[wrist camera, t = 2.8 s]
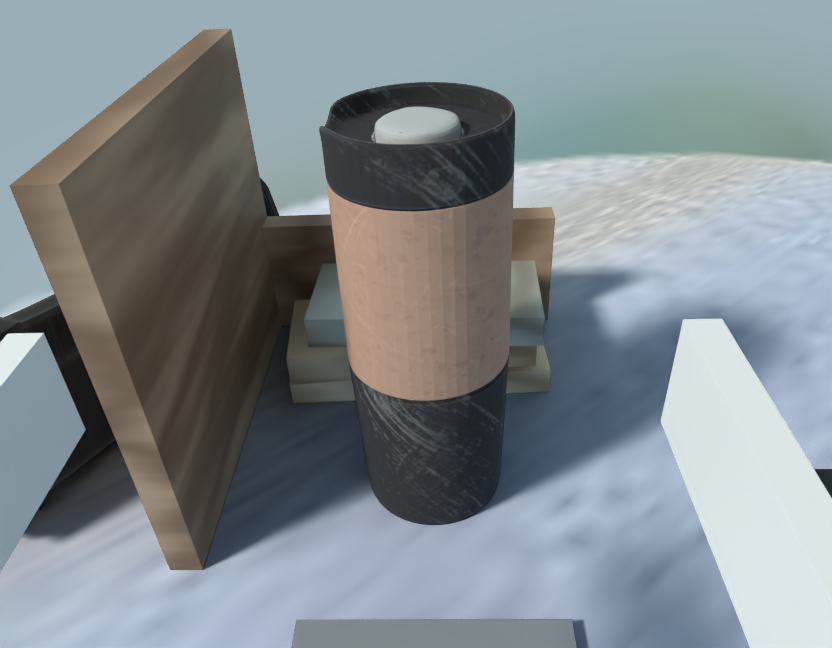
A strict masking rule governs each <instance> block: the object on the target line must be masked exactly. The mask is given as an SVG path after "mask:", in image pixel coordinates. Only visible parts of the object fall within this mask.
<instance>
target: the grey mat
mask: <svg viewBox="0 0 832 648" xmlns="http://www.w3.org/2000/svg"><path fill="white" fill-rule="evenodd" d="M291 648H577V646H576V640H575V634H574V629H573V623H572V619H424V620H296V625H295V631H294V636H293V642H292V647H291Z"/></svg>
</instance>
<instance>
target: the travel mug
mask: <svg viewBox="0 0 832 648" xmlns="http://www.w3.org/2000/svg"><path fill="white" fill-rule="evenodd" d="M319 131H320V136H321V141H322V147H323V156H324V163H325V172H326V179H327V188H328V197H329V205H330V213H331V221H332V229H333V238H334V246H335V254H336V262H337V271H338V279H339V287H340V295H341V303H342V312H343V320H344V328H345V336H346V345H347V353H348V359H349V366H350V372H351V378H352V384H353V389H354V395H355V401H356V407H357V412H358V418H359V424H360V430H361V435H362V441H363V447H364V453H365V458H366V464H367V469H368V474H369V479H370V483H371V486H372V490H373V492H374V494H375V496H376V497H377V499H378V500H379V502H380V503H381V504H382V505H383V506H384V507H385V508H386V509H387V510H388V511H390V512H391V513H393V514H394V515H396V516H397V517H400V518H402V519H404V520H407V521H410V522H413V523H418V524H426V525H441V524H449V523H453V522H457V521H460V520H462V519H465V518H467V517H469V516H471V515H473V514H475V513H476V512H478V511H479V510H480V509H481V508H483V507H484V506H485V505H486V504H487V503H488V501H489V500H490V499H491V497H492V496H493V494H494V492H495V490H496V487H497V485H498V480H499V475H500V465H501V454H502V440H503V427H504V414H505V401H506V388H507V375H508V362H509V343H510V303H511V263H512V223H513V183H514V144H515V143H514V142H515V111H514V107H513V105H512V103H511V102H510V101H509V100H508V99H507V98H506V97H504V96H503V95H501V94H499V93H497V92H494V91H492V90H489V89H485V88H482V87H477V86H472V85H466V84H457V83H445V82H418V83H404V84H395V85H388V86H382V87H376V88H371V89H367V90H363V91H359V92H356V93H354V94H350V95H348V96H345V97H343V98H341V99H339V100H337V101H336V102H335V103H334V104H333V105H332V106H331V109H330V112H329V116H328V120H327V122H326V125H325V127H324V126H321V127H320V129H319Z"/></svg>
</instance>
